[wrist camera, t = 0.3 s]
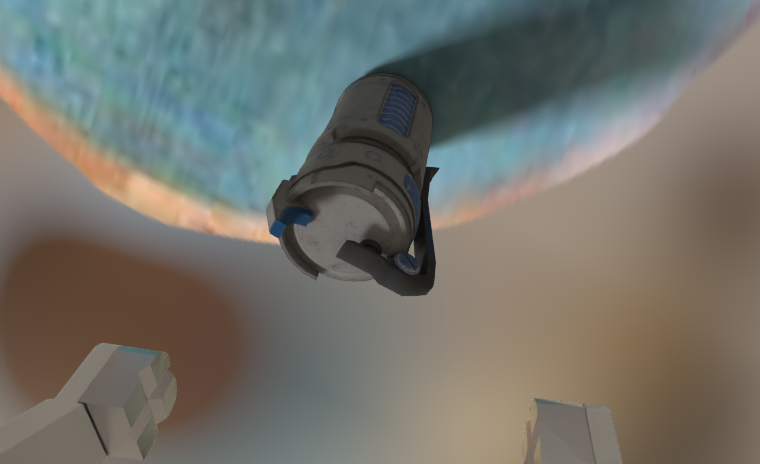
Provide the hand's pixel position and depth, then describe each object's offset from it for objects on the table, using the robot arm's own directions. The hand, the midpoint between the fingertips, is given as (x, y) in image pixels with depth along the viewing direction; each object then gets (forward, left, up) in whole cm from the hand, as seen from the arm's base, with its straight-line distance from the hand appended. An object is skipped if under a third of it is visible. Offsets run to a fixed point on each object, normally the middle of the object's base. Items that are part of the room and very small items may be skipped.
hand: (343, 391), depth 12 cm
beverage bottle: (+14, -3, -47) cm, 49 cm away
